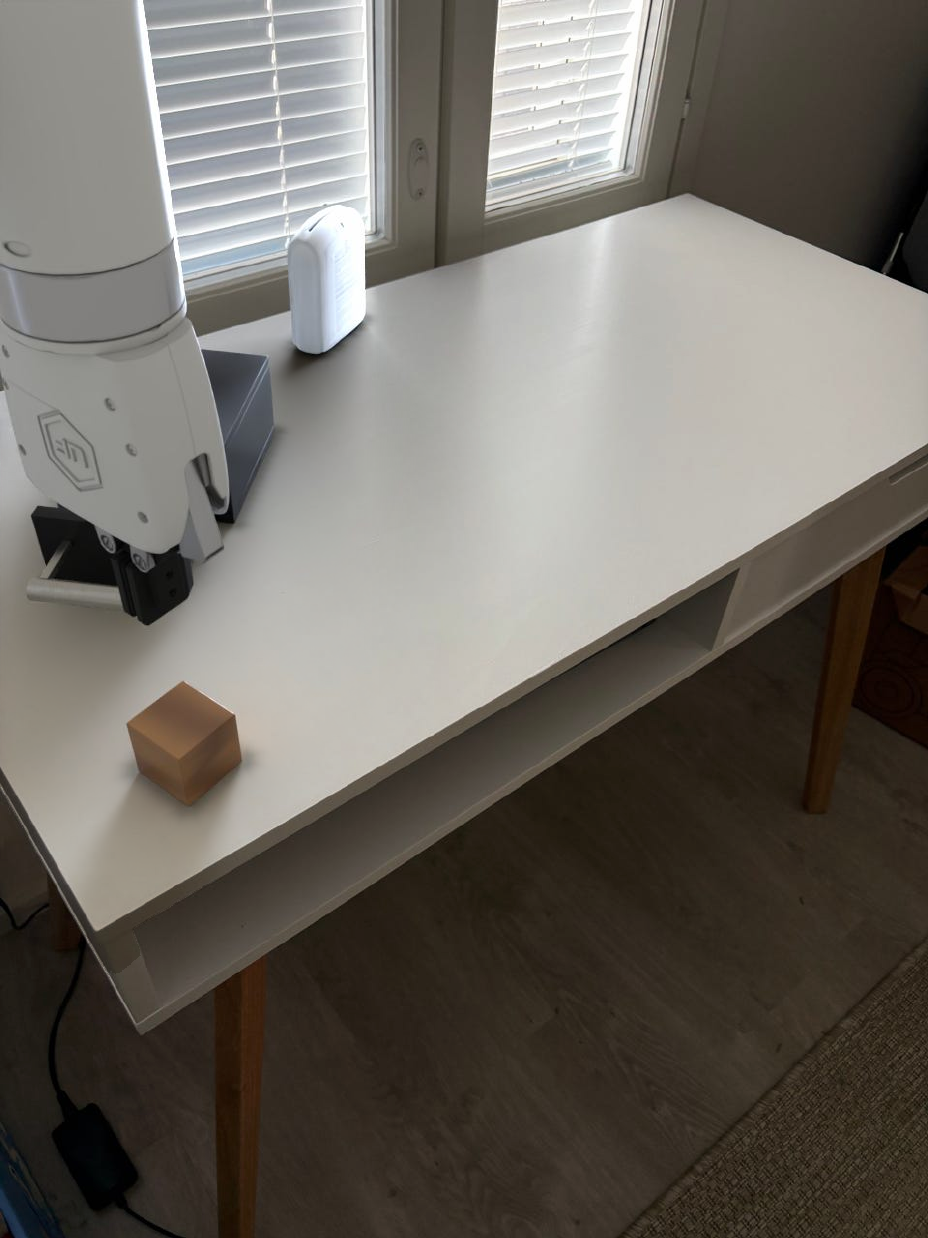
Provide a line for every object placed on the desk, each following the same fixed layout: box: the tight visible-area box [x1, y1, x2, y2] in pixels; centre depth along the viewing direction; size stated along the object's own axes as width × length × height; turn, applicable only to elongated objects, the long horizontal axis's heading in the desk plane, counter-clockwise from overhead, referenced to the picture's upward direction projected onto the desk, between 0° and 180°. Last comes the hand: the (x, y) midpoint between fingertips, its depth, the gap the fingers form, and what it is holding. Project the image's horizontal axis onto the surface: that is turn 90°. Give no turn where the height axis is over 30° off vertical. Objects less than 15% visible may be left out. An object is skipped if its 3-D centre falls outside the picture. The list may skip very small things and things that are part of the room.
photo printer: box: [286, 205, 366, 355], centre depth 100 cm, size 10×4×12 cm, turn 157°
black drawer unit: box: [200, 348, 276, 525], centre depth 83 cm, size 14×12×8 cm
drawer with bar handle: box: [25, 502, 215, 612], centre depth 74 cm, size 18×10×6 cm, turn 174°
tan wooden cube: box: [125, 680, 243, 807], centre depth 62 cm, size 4×4×4 cm
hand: (158, 605), depth 54 cm, fingers closed
